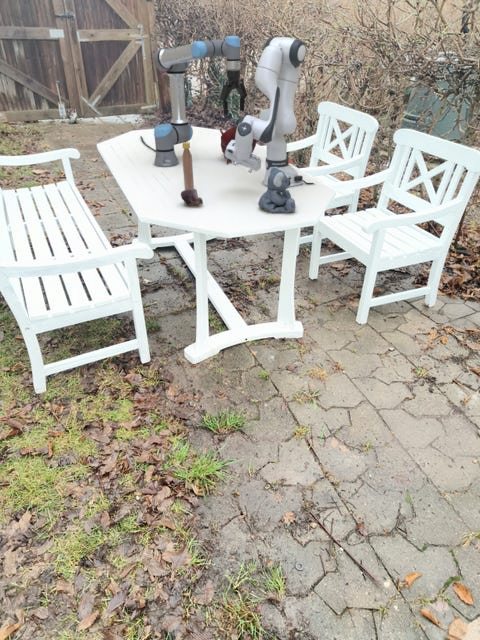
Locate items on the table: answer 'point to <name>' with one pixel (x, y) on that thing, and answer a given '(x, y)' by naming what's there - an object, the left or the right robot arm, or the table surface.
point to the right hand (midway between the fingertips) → (242, 168)
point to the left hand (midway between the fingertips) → (234, 112)
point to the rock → (191, 197)
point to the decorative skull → (229, 136)
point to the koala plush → (277, 193)
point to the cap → (186, 145)
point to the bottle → (187, 169)
